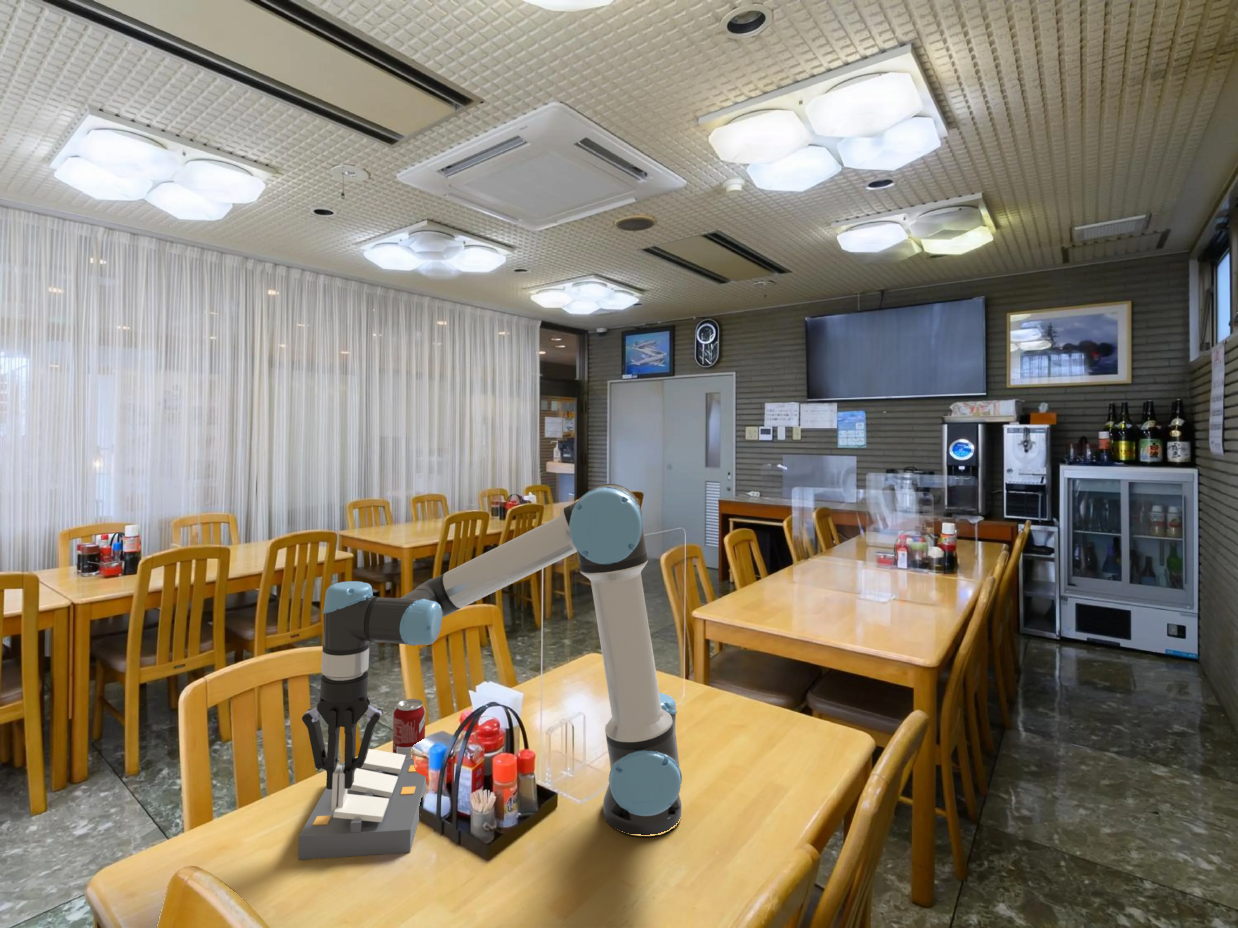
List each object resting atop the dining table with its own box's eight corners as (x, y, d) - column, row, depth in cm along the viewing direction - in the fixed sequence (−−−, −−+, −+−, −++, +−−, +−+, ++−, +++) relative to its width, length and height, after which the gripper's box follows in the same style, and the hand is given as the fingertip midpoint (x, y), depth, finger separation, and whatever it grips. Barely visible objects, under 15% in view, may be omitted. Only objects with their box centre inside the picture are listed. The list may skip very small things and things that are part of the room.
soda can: (414, 766, 134) (415, 711, 134) (386, 762, 135) (387, 708, 135) (430, 751, 141) (431, 699, 140) (403, 747, 142) (404, 696, 142)
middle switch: (395, 783, 120) (398, 776, 120) (389, 801, 114) (392, 792, 114) (354, 775, 119) (356, 767, 119) (345, 792, 113) (348, 784, 113)
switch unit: (430, 776, 130) (431, 750, 130) (410, 852, 106) (410, 819, 106) (340, 781, 127) (340, 754, 127) (298, 859, 104) (298, 826, 103)
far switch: (404, 762, 128) (406, 754, 128) (398, 777, 122) (400, 769, 122) (364, 755, 127) (366, 747, 127) (357, 770, 121) (359, 762, 121)
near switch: (387, 806, 112) (389, 797, 112) (380, 826, 106) (382, 817, 106) (342, 801, 111) (343, 792, 111) (332, 821, 105) (334, 811, 105)
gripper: (389, 664, 112) (384, 792, 113) (311, 664, 110) (305, 794, 111) (380, 680, 105) (374, 817, 105) (296, 680, 103) (290, 820, 103)
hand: (339, 805), depth 108 cm, fingers closed
